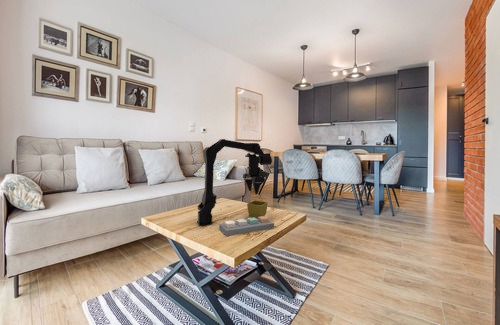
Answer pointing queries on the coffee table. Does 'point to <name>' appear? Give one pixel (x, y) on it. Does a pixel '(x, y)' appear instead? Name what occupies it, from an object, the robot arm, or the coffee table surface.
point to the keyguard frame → (246, 228)
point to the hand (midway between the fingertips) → (253, 192)
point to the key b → (241, 222)
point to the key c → (252, 221)
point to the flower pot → (257, 209)
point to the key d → (263, 219)
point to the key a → (229, 224)
